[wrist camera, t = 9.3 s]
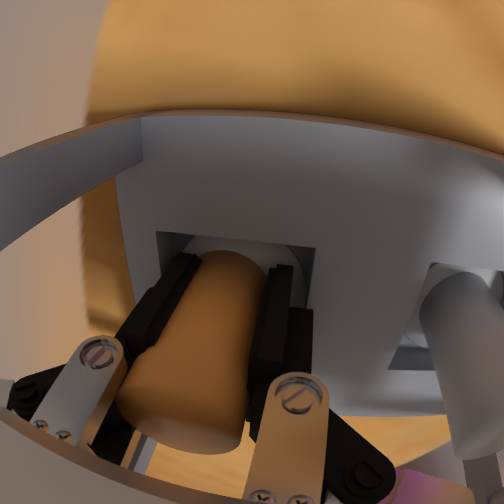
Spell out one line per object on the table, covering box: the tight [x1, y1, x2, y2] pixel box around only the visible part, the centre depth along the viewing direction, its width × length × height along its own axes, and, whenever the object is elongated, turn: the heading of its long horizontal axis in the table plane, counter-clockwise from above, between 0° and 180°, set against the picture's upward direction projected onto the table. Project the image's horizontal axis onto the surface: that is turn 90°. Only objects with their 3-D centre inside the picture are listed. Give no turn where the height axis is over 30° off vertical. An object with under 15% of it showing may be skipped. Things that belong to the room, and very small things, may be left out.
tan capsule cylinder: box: [115, 250, 267, 455], centre depth 9 cm, size 3×3×6 cm
